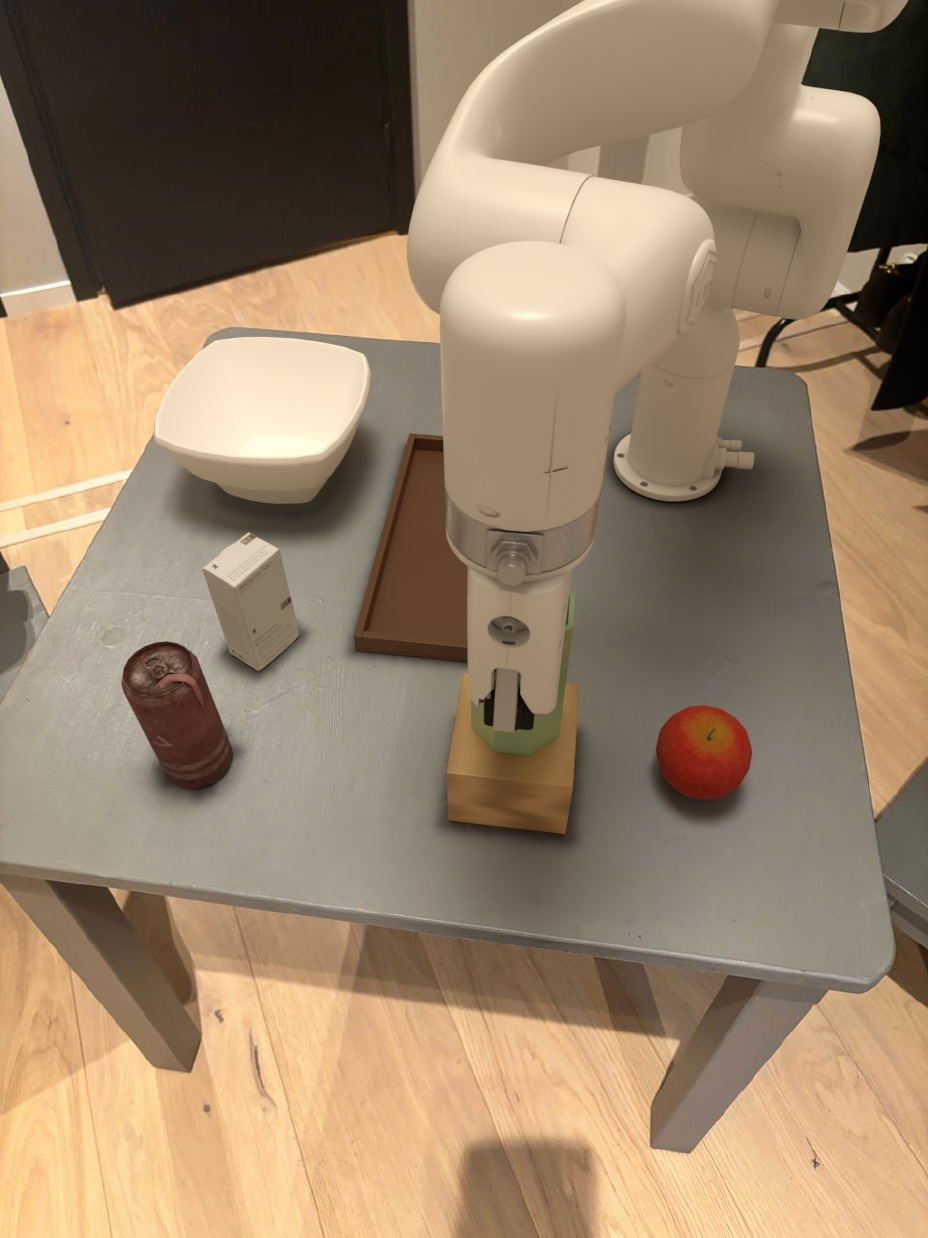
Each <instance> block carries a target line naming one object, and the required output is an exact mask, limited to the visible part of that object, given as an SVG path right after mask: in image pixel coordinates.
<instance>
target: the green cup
mask: <svg viewBox="0 0 928 1238" xmlns="http://www.w3.org/2000/svg"><path fill="white" fill-rule="evenodd" d="M575 607H576V594H575V593H574V592H573V591H572V590H571V589H570V593H569V602H568V611H567V619H566V627H565V635H564V643H563V651H562V659H561V668H560V676H559V685H558V695H557V702H556V707H555V708H554V709H553V710H552V711H551V712H550V713H549V714H535V717H534V727H533V729H531V730H521V729H518V730H515V731H514V733H504V732H495V731H493V726H487V725H485V724H484V704H483V703H480V706H479V707H478V706H477V705H476V704H475V703H474V702H473V701H472V700H471V727H472V728H473V729H474V731H475V732H476V733H477V734H478V735H479V736H480V737H481V738H482V739H483V740H484V741H485V742H486V744H487V745H488V746H489V747H490V748H491V749H492V750H493V751H494V752H502V753H512V754H521V755H530V756H531V755H532V754H534V753H535V752H537V751H538V750H540V749H541V748H543V747H544V746H545V745H547V744H548V743H550V742H551V741H553V740H554V739H556V738H557V737H559V732H560V724H561V717H562V709H563V701H564V694H565V686H566V683H567V679H568V678H567V676H568V671H569V670H568V669H569V662H570V654H571V647H572V639H573V633H574V632H573V631H574V624H575V623H574V621H575Z"/></svg>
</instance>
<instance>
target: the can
mask: <svg viewBox="0 0 928 1238" xmlns="http://www.w3.org/2000/svg"><path fill="white" fill-rule="evenodd" d="M121 688H122V692H123V694H124V696H125V698H126V701H127V702H128V704H129V706H130V708H131V710H132V712H133V714H134V715H135V717H136V720H137V721H138V724H139V726H140V727H141V729H142V731H143V733H144V735H145V737H146V739H147V742H148V743H149V745H150V747H151V748H152V751H153V753H154V754H155V757H156V758H157V760H158V762H159V764H160V766H161V768H162V770H163V772H164V774H165V775H166V777H167V778H168V779H169V780H170V782H172V783H174V784H175V785H177V786H179V787H183V788H190V789H192V788H193V789H194V788H201V787H205V786H207V785H211V784H212V783H214V782H216V781H217V780H218V779H220V778H221V777H222V776H223V775H224V774H225V772H226V771H227V770H228V769H229V767H230V764H231V762H232V759H233V747H232V744H231V741H230V739H229V736H228V733H227V731H226V728H225V726H224V723H223V720H222V717H221V715H220V712H219V710H218V708H217V706H216V702H215V700H214V697H213V695H212V692H211V690H210V687H209V684H208V682H207V679H206V677H205V674H204V672H203V669H202V666H201V664H200V662H199V659H198V657H197V656H196V654H194V653H193V651H191V650H190V649H188V648H187V647H186V646H184V645H182V644H180V643H179V642H178V643H177V642H175V641H174V642H173V641H167V640H166V641H165V640H164V641H155V642H153V643H150V644H147V645H145V646H144V645H143V647H141V648H140V649H138V650H136V651H135V652H133V654H131V656H130V657H129V658H128V659H127V660H126V663H125V665H124V667H123V671H122V677H121Z"/></svg>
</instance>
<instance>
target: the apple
mask: <svg viewBox="0 0 928 1238" xmlns="http://www.w3.org/2000/svg"><path fill="white" fill-rule="evenodd" d="M655 755H656V759H657V763H658V766H659V769H660V772H661V775H662V776H663V778H665V780H666V781H667V783H668V784H670V785H671V787H672V788H673V789H674V790H676V791H677V792H678V793H680V794H682V795H684V796H685V797H689V798H693V799H697V800H717V799H720V798H722V797H724V796H727V795H728V794H730V793H731V792H734V791H735V790H736V789H738V788H739V787H740V785H741V784H742V783H743V781H744V779H745V778H746V776H747V775H748V773H749V771H750V768H751V762H752V758H753V748H752V744H751V741H750V737H749V734H748V731H747V729H746V728H745V726H744V725H743V724H742V723H741V722H740V721H739V720H738V718H737V717H736V716H734V715H732V714H731V713H729V712H727V711H725V710H724V709H722V708H719V707H715V706H710V705H707V704H702V705H701V704H700V705H690V706H687V707H685V708H683V709H681V710H679V711H677V712H675V713H674V714H672V715H671V716H670V717H669V718H668V719H667V720H666V722H665V723H664V724H663V725H662V727H660V729H659V732H658V735H657V740H656V745H655Z"/></svg>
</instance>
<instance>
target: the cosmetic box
mask: <svg viewBox="0 0 928 1238" xmlns="http://www.w3.org/2000/svg"><path fill="white" fill-rule="evenodd" d="M201 570H202V573H203V576H204V579H205V581H206V582H205V583H206V585H207V588H208V592H209V594H210V598H211V600H212V603H213V606H214V609H215V612H216V615H217V619H218V622H219V624H220V628H221V631H222V633H223V636H224V639H225V643H226V646H227V649H228V652H229V653H230V654H231V655H232V656H234V657H235V658H237V659H238V660H240V661H241V662H243V663H244V664H246V665H247V666H249V667H251V668H252V669H253V670H255V671H256V672H260V671H262V670H263V669H264V668H266V667H267V666H268V665H269V664H270V663H272V662H273V661H274V660H275V659H276V658H278V656H280V655H281V654H282V653H283V652H284V651H285V650H286V649H287V648H289V647H290V645H292V644H293V643H294V642H295V641H296V640H297V638H298V637H299V636H300V630H299V626H298V621H297V617H296V613H295V609H294V605H293V600H292V597H291V592H290V589H289V588H290V587H289V583H288V580H287V576H286V571H285V566H284V563H283V559H282V555H281V550H280V548H278V547H276V546H274V545H273V544H271V543H269V542H267V541H265V540H264V539H261V538H259V537H258V536H256V535H254V534H252V533H251V532H246V533H245V535H243V536H242V537H240V538H239V539H238V540H237V541H235V542H234V543H232V544H230V545H228V546H227V547H225V548H224V549H222V551H220V553H218V555H217V556H216V557H215V558H213V559H212V560H211V561H210V562H208V563H207V564H205V565H204V566H203V567H202V569H201Z"/></svg>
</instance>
